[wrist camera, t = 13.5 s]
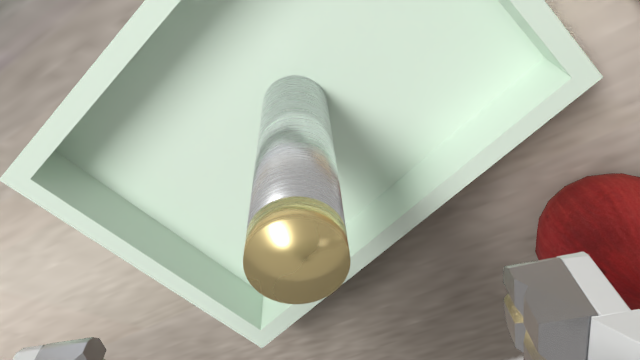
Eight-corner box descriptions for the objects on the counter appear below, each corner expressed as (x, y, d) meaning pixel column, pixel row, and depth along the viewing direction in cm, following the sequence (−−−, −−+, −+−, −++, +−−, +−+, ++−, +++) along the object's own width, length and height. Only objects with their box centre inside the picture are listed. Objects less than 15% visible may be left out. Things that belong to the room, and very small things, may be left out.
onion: (570, 265, 27) (664, 399, 21) (484, 215, 26) (556, 343, 19) (662, 179, 25) (803, 298, 18) (575, 118, 23) (694, 224, 16)
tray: (341, -235, 17) (350, -253, 14) (566, 52, 22) (603, 77, 19) (32, 144, 23) (-2, 180, 20) (264, 303, 28) (261, 348, 25)
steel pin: (320, 68, 21) (339, 209, 12) (333, 128, 22) (358, 293, 14) (255, 82, 21) (229, 231, 13) (271, 141, 23) (258, 312, 14)
